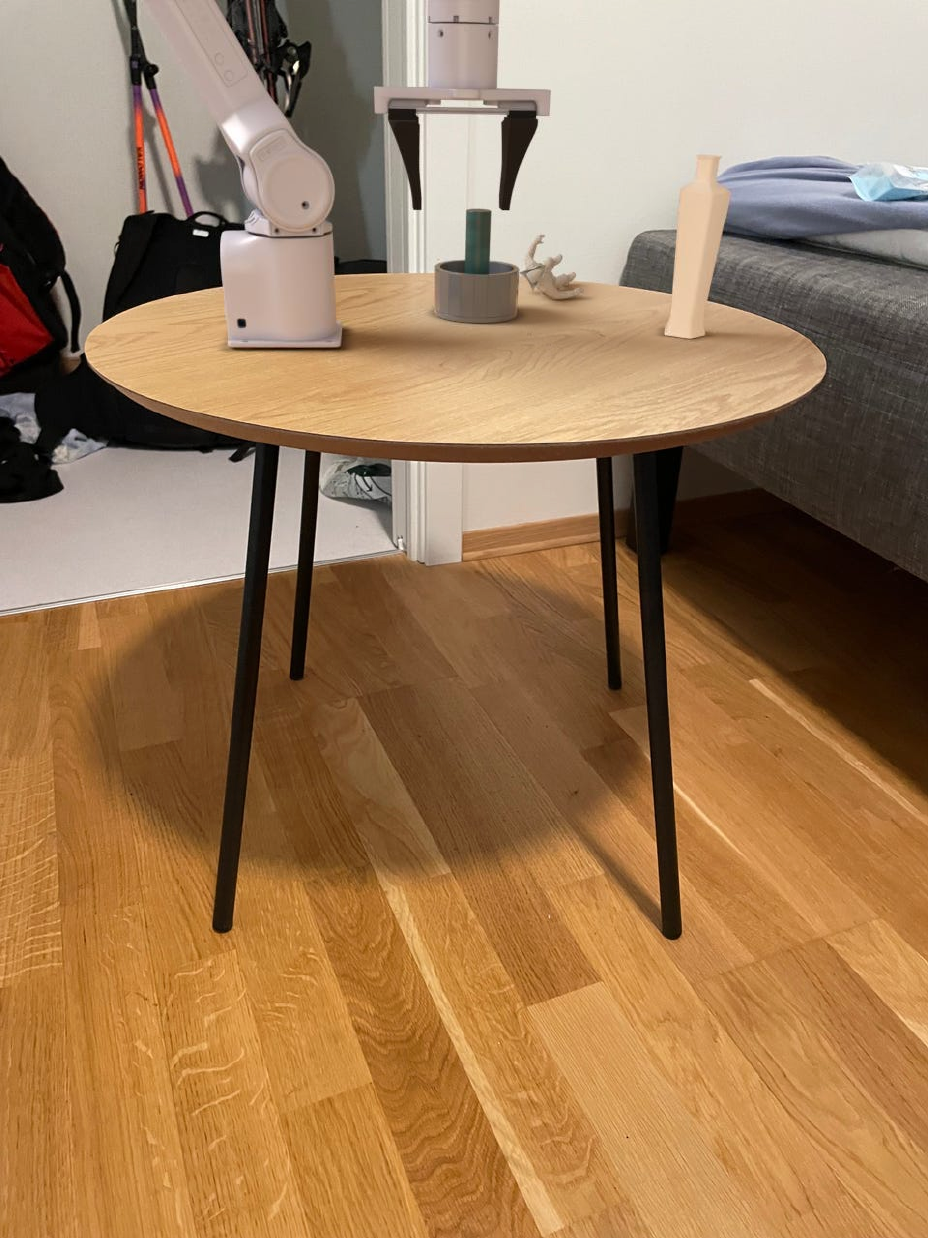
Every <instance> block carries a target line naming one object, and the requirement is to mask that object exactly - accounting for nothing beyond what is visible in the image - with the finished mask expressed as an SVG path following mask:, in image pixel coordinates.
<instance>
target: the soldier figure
mask: <svg viewBox="0 0 928 1238" xmlns="http://www.w3.org/2000/svg"><path fill="white" fill-rule="evenodd" d="M545 237H546V235H545V234H539V235H537V236H535V238H534V240H533V241H532V242H531V243H530V245H529V248H528V249H527V251H526V254H525V256H524V266H525V269H524V270H521V271H519V275H521V277H523V278H524V279H525V280H526V281H527V283H528V284H529V286H530V288H531V291H532V292H534V290H535V289H537V290H539V292H540V293H542V294H545V295H547V296H549V297H551V298H552V300H565V299H571V298H573V297H577V298H578V297H580V295H582V294H585V290H584V289H583V288H581V287H577V288H575V289H573V290H560V289H561V288H562V287H568V286H569V284H570V283H571V282H573V281H574V280H575V278H576V276H577V274H576V272H574V271H572V272H570V273H569V274H566V273H561V274H560V275H558V276H555V275H554V274H553V272H552V270H553V269H554V268H555V267H556V266H557V265H559V264H561V262H562V260H563V258H564V257H563V255H562V253H559V254H557V255H556V256H555V257H552V256H548V257H546V259H545V260H543V261H542V263H541V262H537V261H535V259H534V258H535V255H536V250H537V246H538V245H540V244H541V245H542V244H544V241H542V239H543V238H545Z"/></svg>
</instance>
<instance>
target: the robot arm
mask: <svg viewBox="0 0 928 1238" xmlns="http://www.w3.org/2000/svg"><path fill="white" fill-rule="evenodd" d="M140 1H141V3H142V5H143V7H144V8H145V10H146V12H147V13H148V14H149V16H150V18H151V20H152V21H153V23H154V24H155V26H156V28H157V29H158V31H159V33H160V34H161V35H162V37H163V39H164V40H165V42H166V44H167V45H168V47H169V48H170V50H171V52H172V53H173V55H174V56H175V58H176V60H177V61H178V63H179V65H180V66H181V68H182V69H183V71H184V73H185V74H186V76H187V78H188V79H189V81H190V82H191V84H192V86H193V88H194V89H195V90H196V92H197V93H198V95H199V97H200V99H201V100H202V102H203V103H204V105H205V106H206V108H207V110H208V112H209V113H210V115H211V116H212V118H213V120H214V122H215V123H216V125H217V127H218V128H219V130H220V132H221V134H222V137H223V139H224V140H225V142H226V144H227V146H228V148H229V149H230V151H231V153H232V155H233V156H234V158H235V160H236V162H237V165H238V168H239V174H240V183H241V186H242V190H243V192H244V194H245V196H246V198H247V200H248V201H249V203H250V204H251V205H252V206H253V207H254V208H255V209H253V210H252V211H251V213H250V214H249V216H248V218H247V219H246V220H244V230H224V231H223V232H222V233H221V236H220V250H219V251H220V269H221V271H220V272H221V281H222V289H223V300H224V316H225V321H226V327H227V329H226V330H227V339H228V340H227V347H229V348H340V347H341V346H342V339H343V322H342V321H341V320H337V301H336V300H337V299H336V280H335V279H336V278H335V255H334V254H335V253H334V252H335V251H334V233H333V223H332V222H330V221H326V219H327V217H328V216H329V214H330V213H331V211H332V208H333V206H334V202H335V195H336V185H335V180H334V175H333V173H332V171H331V168H330V167H329V165H328V163H327V162H326V161H325V159H324V158H323V157H322V156H321V155H320V154H319V153H318V152H316V151H315V150H313V149H312V148H311V147H310V146H307V145H306V144H305V142H303V141H302V140H301V139H300V138H299V137H298V135H297V134H296V132H295V130H294V128H293V127H292V125H291V123H290V121H289V120H288V119H287V118H286V116H285V115H284V113H283V111H282V110H281V109H280V108H279V106H278V105H277V103H276V102H275V101H274V100H273V98H272V97H271V95H270V94H269V92H268V90H267V89H266V87H265V85H264V84H263V82H262V80H261V77H260V76H259V74H258V73H257V72H256V70H255V68H254V65H253V64H252V62H251V61H250V59H249V58H248V56H247V54H246V52H245V50H244V49H243V47H242V45H241V43H240V42H239V40H238V38H237V36H236V35H235V33H234V31H233V30H232V28H231V26H230V24H229V22H228V21H227V19H226V17H225V16H224V14H223V12H222V10H221V8H220V7H219V5H218V3H217V2H216V0H140ZM500 2H501V0H427V86H374V87H373V92H374V94H373V95H374V97H373V98H374V99H373V100H374V113H375V114H378V115H380V114H381V115H382V114H383V115H387V121H388V124H389V126H390V129H391V131H392V134H393V137H394V138H395V141H396V144H397V146H398V150H399V152H400V155H401V158H402V162H403V164H404V168H405V172H406V176H407V180H408V185H409V190H410V197H411V207H412V211H422V209H423V207H422V206H423V205H422V204H423V203H422V202H423V197H422V182H421V175H420V174H421V173H420V171H421V170H420V150H421V149H420V148H421V145H420V143H421V124H420V123H419V122H420V117H419V116H418V114H419V115H420V114H421V115H483V116H484V115H487V116H489V115H490V116H493V115H494V116H504V117H503V119H502V121H501V122H500V131H501V132H500V133H501V166H500V177H499V189H498V208H499V209H500V211H510V210H511V203H512V197H513V193H514V189H515V185H516V181H517V178H518V175H519V171H520V169H521V167H522V163H523V161H524V158H525V156H526V154H527V151H528V149H529V147H530V144H531V143H532V140H533V139H534V136H535V135H536V132H537V129H538V126H539V119H538V118H537V117H550V115H551V114H550V112H551V94H552V91H551V89H547V88H543V89H542V88H541V89H539V88H502V87H501V88H499V87H498V66H499V64H498V63H499V34H500V33H499V29H500V27H499V25H500V4H501V3H500ZM442 101H473V102H475V101H479V102H480V101H482V105H483V106H488V107H464V106H463V107H462V106H461V107H460V106H458V107H457V106H441V105H442ZM489 106H491V107H489ZM492 106H493V107H492Z"/></svg>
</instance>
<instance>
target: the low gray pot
mask: <svg viewBox="0 0 928 1238" xmlns="http://www.w3.org/2000/svg"><path fill="white" fill-rule="evenodd" d="M433 270H434V271H433V272H434V274H433V275H434V276H433V309H434V311H433V312H434V315H435V316H436V317H437V318H441V319H443V320H447V321H451V322H458V323H466V324H467V323H469V324H495V323H502V322H507V321H511V320H513V319H515V318H516V317H517V316H518V314H517V313H518V307H519V290H520V289H519V286H520V267H519V266H517V265H516V264H513V263H510V262H509V263H508V262H504V261H497V260H490V269H489V274H465V259H454V260H446V261H442V262H438V263H436V264H434V267H433Z"/></svg>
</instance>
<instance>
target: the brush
mask: <svg viewBox="0 0 928 1238" xmlns="http://www.w3.org/2000/svg"><path fill="white" fill-rule="evenodd" d="M492 213H493V212H492V210H491V209H489V208H468V209H466V210H465V244H464V245H465V247H464V249H465V250H464V260H465V274H489V269H490V261H491V240H492V239H491V238H492V235H491V234H492Z"/></svg>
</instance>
